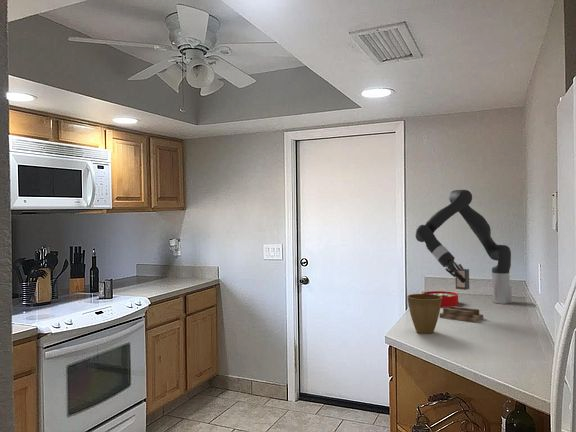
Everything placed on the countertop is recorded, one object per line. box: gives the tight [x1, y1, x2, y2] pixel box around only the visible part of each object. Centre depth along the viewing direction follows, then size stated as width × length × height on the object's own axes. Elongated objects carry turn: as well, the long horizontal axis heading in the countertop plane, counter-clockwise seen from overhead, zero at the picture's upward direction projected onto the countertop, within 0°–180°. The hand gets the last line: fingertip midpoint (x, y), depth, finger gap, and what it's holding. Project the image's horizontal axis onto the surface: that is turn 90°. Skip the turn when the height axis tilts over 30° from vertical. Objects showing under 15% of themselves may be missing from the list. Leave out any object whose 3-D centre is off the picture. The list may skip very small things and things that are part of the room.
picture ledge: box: [439, 306, 484, 323], centre depth 236 cm, size 18×10×4 cm, turn 44°
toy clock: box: [421, 290, 459, 308], centre depth 274 cm, size 20×6×20 cm
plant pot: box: [407, 293, 442, 335], centre depth 212 cm, size 15×15×16 cm
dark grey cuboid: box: [455, 268, 470, 291], centre depth 238 cm, size 6×4×10 cm, turn 44°
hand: (466, 281), depth 237 cm, fingers closed on dark grey cuboid, 3 cm apart
